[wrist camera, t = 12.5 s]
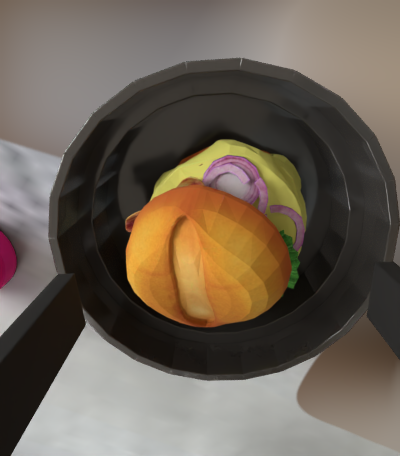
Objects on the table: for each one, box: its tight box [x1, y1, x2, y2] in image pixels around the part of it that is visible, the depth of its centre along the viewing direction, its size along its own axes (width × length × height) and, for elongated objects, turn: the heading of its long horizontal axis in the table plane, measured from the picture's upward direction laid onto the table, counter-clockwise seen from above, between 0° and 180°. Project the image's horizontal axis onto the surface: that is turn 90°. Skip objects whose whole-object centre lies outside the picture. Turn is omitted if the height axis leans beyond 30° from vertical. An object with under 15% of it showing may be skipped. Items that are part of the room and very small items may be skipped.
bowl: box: [49, 58, 400, 381], centre depth 20 cm, size 19×19×6 cm
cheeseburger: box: [126, 140, 307, 327], centre depth 19 cm, size 10×11×10 cm
